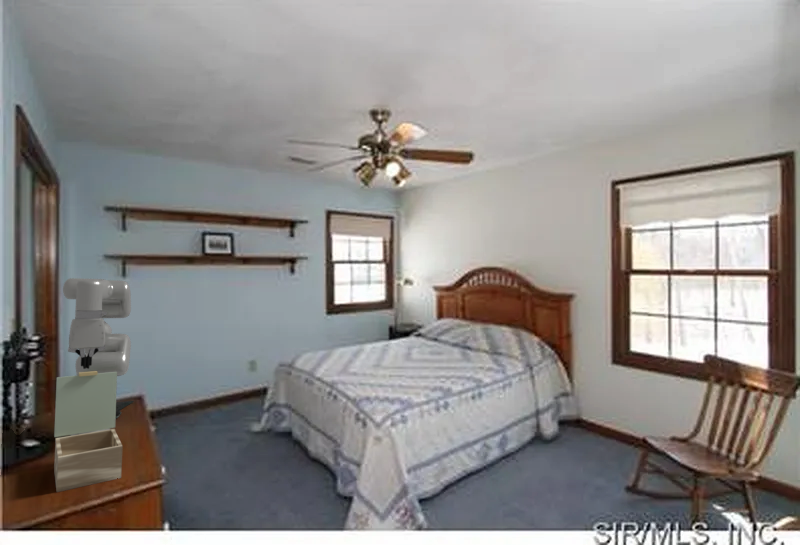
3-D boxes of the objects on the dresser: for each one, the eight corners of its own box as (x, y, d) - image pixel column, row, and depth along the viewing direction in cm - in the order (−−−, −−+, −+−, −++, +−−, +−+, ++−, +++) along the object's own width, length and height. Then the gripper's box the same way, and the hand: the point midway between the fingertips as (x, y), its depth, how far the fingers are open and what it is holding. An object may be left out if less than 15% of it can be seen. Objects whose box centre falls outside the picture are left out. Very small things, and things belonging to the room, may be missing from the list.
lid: (54, 438, 141) (54, 436, 143) (115, 428, 152) (114, 426, 154) (57, 375, 142) (56, 374, 145) (117, 370, 153) (116, 369, 155)
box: (54, 469, 142) (55, 438, 142) (112, 457, 152) (114, 428, 152) (56, 492, 128) (58, 457, 128) (121, 477, 138) (122, 445, 139)
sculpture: (89, 422, 182) (90, 405, 183) (111, 416, 210) (112, 401, 211) (115, 420, 185) (116, 404, 186) (133, 414, 213) (134, 400, 214)
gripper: (112, 313, 162) (110, 364, 162) (61, 314, 152) (58, 368, 152) (115, 315, 156) (112, 367, 156) (62, 317, 146) (59, 372, 146)
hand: (86, 367), depth 154 cm, fingers closed
